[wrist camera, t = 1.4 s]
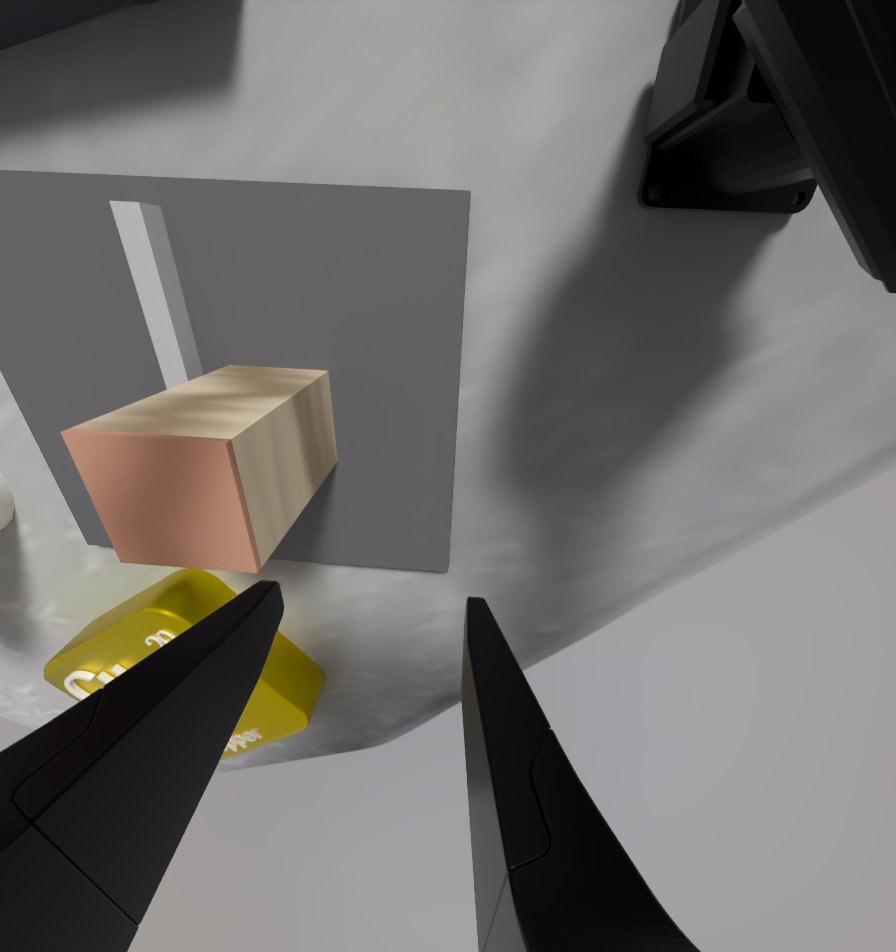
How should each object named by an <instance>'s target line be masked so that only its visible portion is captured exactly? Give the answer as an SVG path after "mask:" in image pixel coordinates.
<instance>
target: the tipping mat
mask: <svg viewBox="0 0 896 952" xmlns="http://www.w3.org/2000/svg"><path fill="white" fill-rule="evenodd" d="M469 209H470V191H464V190H442V189H419V188H396V187H374V186H351V185H328V184H306V183H283V182H260V181H237V180H215V179H192V178H169V177H147V176H124V175H101V174H79V173H56V172H33V171H11V170H0V370H1V372H2V374H3V376H4V378H5V380H6V382H7V384H8V386H9V388H10V390H11V392H12V394H13V396H14V398H15V400H16V402H17V404H18V406H19V408H20V410H21V412H22V414H23V416H24V418H25V420H26V422H27V424H28V426H29V428H30V430H31V432H32V434H33V436H34V438H35V440H36V442H37V444H38V446H39V448H40V450H41V452H42V454H43V456H44V458H45V460H46V462H47V464H48V466H49V468H50V470H51V472H52V474H53V476H54V478H55V480H56V482H57V484H58V486H59V488H60V490H61V492H62V494H63V496H64V498H65V500H66V502H67V504H68V506H69V508H70V510H71V512H72V514H73V516H74V518H75V520H76V522H77V524H78V526H79V528H80V530H81V532H82V534H83V536H84V538H85V540H86V542H87V544H88V545H99V546H112V547H113V545H112V543H111V540H110V538H109V536H108V534H107V532H106V530H105V528H104V525H103V523H102V521H101V519H100V517H99V515H98V512H97V510H96V508H95V506H94V504H93V502H92V499H91V497H90V495H89V493H88V491H87V489H86V486H85V484H84V482H83V480H82V478H81V476H80V474H79V471H78V469H77V467H76V465H75V463H74V461H73V458H72V456H71V454H70V452H69V450H68V448H67V445H66V443H65V441H64V439H63V437H62V435H61V433H60V432H62V431H64V430H67V429H69V428H72V427H74V426H77V425H79V424H82V423H84V422H87V421H89V420H92V419H95V418H97V417H100V416H102V415H105V414H107V413H110V412H112V411H115V410H117V409H120V408H122V407H125V406H127V405H130V404H132V403H135V402H137V401H140V400H142V399H145V398H147V397H150V396H153V395H155V394H158V393H160V392H163V391H165V390H168V389H170V388H173V387H175V386H178V385H180V384H183V383H185V382H188V381H190V380H193V379H195V378H198V377H200V376H203V375H205V374H208V373H211V372H213V371H216V370H218V369H221V368H223V367H226V366H228V365H240V366H257V367H273V368H290V369H306V370H323V371H328V372H329V382H330V392H331V402H332V412H333V421H334V431H335V441H336V451H337V463H336V464H335V466H334V467H333V468H332V470H331V471H330V473H329V474H328V475H327V477H326V478H325V480H324V481H323V482H322V484H321V485H320V487H319V488H318V489H317V491H316V492H315V494H314V495H313V496H312V498H311V499H310V501H309V502H308V503H307V505H306V506H305V508H304V509H303V511H302V512H301V513H300V515H299V516H298V518H297V519H296V520H295V522H294V523H293V525H292V526H291V527H290V529H289V530H288V532H287V533H286V534H285V536H284V537H283V539H282V540H281V541H280V543H279V544H278V546H277V547H276V548H275V550H274V551H273V553H272V554H271V555H270V557H269V558H268V559H280V560H293V561H306V562H319V563H332V564H345V565H358V566H371V567H384V568H397V569H410V570H423V571H436V572H448V565H449V549H450V532H451V515H452V498H453V481H454V464H455V447H456V430H457V413H458V396H459V379H460V362H461V345H462V328H463V311H464V294H465V277H466V260H467V243H468V226H469Z"/></svg>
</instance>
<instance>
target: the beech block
mask: <svg viewBox="0 0 896 952" xmlns="http://www.w3.org/2000/svg"><path fill="white" fill-rule="evenodd" d="M60 433H61V435H62V437H63V439H64V441H65V443H66V445H67V448H68V450H69V452H70V454H71V456H72V458H73V461H74V463H75V465H76V467H77V469H78V471H79V474H80V476H81V478H82V480H83V482H84V484H85V486H86V489H87V491H88V493H89V495H90V497H91V499H92V502H93V504H94V506H95V508H96V510H97V512H98V515H99V517H100V519H101V521H102V523H103V525H104V528H105V530H106V532H107V534H108V536H109V538H110V540H111V543H112V545H113V547H114V549H115V551H116V553H117V556H118V558H119V560H120V562H121V563H134V564H146V565H159V566H172V567H185V568H197V569H210V570H223V571H235V572H248V573H258V572H259V571H260V570H261V568H262V567H263V565H264V564H265V563H266V561H267V560H268V558H269V557H270V555H271V554H272V553H273V551H274V550H275V548H276V547H277V546H278V544H279V543H280V541H281V540H282V539H283V537H284V536H285V534H286V533H287V532H288V530H289V529H290V527H291V526H292V525H293V523H294V522H295V520H296V519H297V518H298V516H299V515H300V513H301V512H302V511H303V509H304V508H305V506H306V505H307V503H308V502H309V501H310V499H311V498H312V496H313V495H314V494H315V492H316V491H317V489H318V488H319V487H320V485H321V484H322V482H323V481H324V480H325V478H326V477H327V475H328V474H329V473H330V471H331V470H332V468H333V467H334V466H335V464H336V463H337V451H336V441H335V431H334V421H333V412H332V402H331V392H330V382H329V372H328V371H323V370H306V369H290V368H273V367H257V366H240V365H228V366H226V367H223V368H221V369H218V370H216V371H213V372H211V373H208V374H205V375H203V376H200V377H198V378H195V379H193V380H190V381H188V382H185V383H183V384H180V385H178V386H175V387H173V388H170V389H168V390H165V391H163V392H160V393H158V394H155V395H153V396H150V397H147V398H145V399H142V400H140V401H137V402H135V403H132V404H130V405H127V406H125V407H122V408H120V409H117V410H115V411H112V412H110V413H107V414H105V415H102V416H100V417H97V418H95V419H92V420H89V421H87V422H84V423H82V424H79V425H77V426H74V427H72V428H69V429H67V430H64V431H62V432H60Z"/></svg>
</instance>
